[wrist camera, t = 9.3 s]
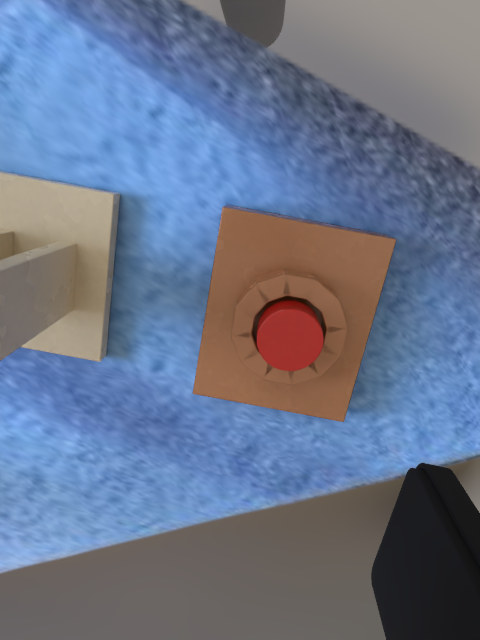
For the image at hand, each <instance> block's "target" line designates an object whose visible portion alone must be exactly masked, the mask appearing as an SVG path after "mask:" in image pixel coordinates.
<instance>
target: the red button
mask: <svg viewBox="0 0 480 640" xmlns="http://www.w3.org/2000/svg"><path fill="white" fill-rule="evenodd" d="M323 343H324V337H323V331H322V328H321V325H320V323H319V320H318V317H317V316H316V314H315V313H314V311H313V310H312V309H311V308H310V307H308V306H307V305H305V304H303V303H301V302H297V301H291V300H289V301H281V302H278V303H275V304H273V305H272V306H270V307H269V308H268V309H266V310H265V312H264V313H263V314H262V316H261V317H260V320H259V322H258V327H257V347H258V350H259V353H260V355H261V356H262V358H263V359H264V360H265V361H266V362H267V363H268V364H269V365H271V366H273V367H274V368H277V369H279V370H284V371H296V370H300V369H303V368H305V367H307V366H309V365H310V364H312V363H313V362H314V361H315V360H316V359H317V358H318V356H319V355H320V353H321V351H322V348H323Z"/></svg>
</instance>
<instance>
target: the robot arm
mask: <svg viewBox="0 0 480 640" xmlns="http://www.w3.org/2000/svg"><path fill="white" fill-rule="evenodd" d="M371 575H372V576H371V577H372V578H371V579H372V587H373V590H374V594H375V598H376V602H377V606H378V610H379V613H380V617H381V621H382V625H383V629H384V632H385V636H386V640H480V513H479V511H478V510H477V508H476V507H475V505H474V504H473V502H472V501H471V499H470V498H469V496H468V494H467V493H466V491H465V490H464V488H463V487H462V485H461V484H460V482H459V481H458V479H457V477H456V476H455V474H454V473H453V472H452V470H451V469H448V468H445V467H440V466H435V465H430V464H425V463H421V464H419V465H418V466H417V467H416V469H415V468H410V469H409V470H408V472H407V474H406V477H405V480H404V482H403V485H402V488H401V490H400V493H399V496H398V499H397V501H396V504H395V507H394V509H393V512H392V515H391V517H390V520H389V523H388V526H387V528H386V531H385V534H384V536H383V539H382V542H381V545H380V547H379V550H378V553H377V555H376V558H375V561H374V564H373V567H372V574H371Z"/></svg>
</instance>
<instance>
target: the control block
mask: <svg viewBox="0 0 480 640" xmlns="http://www.w3.org/2000/svg"><path fill="white" fill-rule="evenodd" d="M395 243H396V239H394V238H392V237H390V236H388V235H386V234H381V233H376V232H370V231H365V230H360V229H354V228H349V227H344V226H338V225H333V224H328V223H322V222H317V221H312V220H306V219H301V218H296V217H290V216H285V215H280V214H274V213H269V212H264V211H258V210H253V209H248V208H242V207H237V206H232V205H225V206H224V207H223V208H222V214H221V220H220V226H219V233H218V239H217V245H216V251H215V258H214V264H213V270H212V276H211V283H210V289H209V295H208V301H207V308H206V314H205V320H204V326H203V333H202V339H201V345H200V351H199V358H198V364H197V370H196V376H195V383H194V389H193V394H197V395H203V396H208V397H213V398H219V399H224V400H229V401H235V402H240V403H245V404H251V405H256V406H261V407H267V408H272V409H277V410H283V411H288V412H293V413H299V414H304V415H309V416H315V417H320V418H325V419H331V420H336V421H341V422H344V419H345V416H346V412H347V409H348V405H349V402H350V399H351V395H352V392H353V388H354V385H355V381H356V378H357V374H358V371H359V367H360V364H361V360H362V357H363V354H364V350H365V347H366V343H367V340H368V336H369V333H370V329H371V326H372V322H373V319H374V316H375V312H376V309H377V305H378V302H379V298H380V295H381V291H382V288H383V284H384V281H385V277H386V274H387V271H388V267H389V264H390V260H391V257H392V253H393V250H394V246H395ZM289 300H291V301H297V302H301V303H303V304H305V305H307V306H308V307H310V308H311V309H312V310H313V311H314V313H315V314H316V316H317V317H318V320H319V323H320V325H321V328H322V331H323V337H324V343H323V348H322V351H321V353H320V355H319V356H318V358H317V359H316V360H315V361H314V362H313V363H312V364H310V365H309V366H307V367H305V368H303V369H300V370H296V371H284V370H279V369H277V368H274V367H273V366H271V365H269V364H268V363H267V362H266V361H265V360H264V359H263V358H262V356H261V355H260V353H259V350H258V347H257V327H258V322H259V320H260V317H261V316H262V314H263V313H264V312H265V310H266V309H268V308H269V307H270V306H272V305H273V304H275V303H278V302H281V301H289Z"/></svg>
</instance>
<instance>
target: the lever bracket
mask: <svg viewBox="0 0 480 640" xmlns="http://www.w3.org/2000/svg"><path fill="white" fill-rule="evenodd" d="M119 202H120V193H117V192H111V191H106V190H100V189H95V188H90V187H84V186H79V185H74V184H68V183H63V182H58V181H52V180H47V179H42V178H36V177H31V176H26V175H20V174H15V173H10V172H4V171H0V361H1V360H2V359H4V358H5V357H7V356H8V355H9V354H11V353H12V352H14V351H15V350H17V349H18V348H20V347H23V348H29V349H34V350H39V351H45V352H50V353H55V354H61V355H66V356H71V357H77V358H82V359H87V360H93V361H98V362H100V361H101V360H102V359H103V358H104V357H105V356H106V351H107V340H108V328H109V317H110V305H111V294H112V282H113V271H114V259H115V248H116V236H117V225H118V213H119Z"/></svg>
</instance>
